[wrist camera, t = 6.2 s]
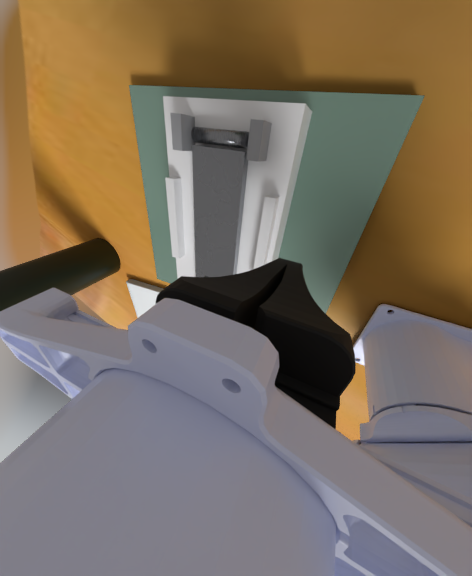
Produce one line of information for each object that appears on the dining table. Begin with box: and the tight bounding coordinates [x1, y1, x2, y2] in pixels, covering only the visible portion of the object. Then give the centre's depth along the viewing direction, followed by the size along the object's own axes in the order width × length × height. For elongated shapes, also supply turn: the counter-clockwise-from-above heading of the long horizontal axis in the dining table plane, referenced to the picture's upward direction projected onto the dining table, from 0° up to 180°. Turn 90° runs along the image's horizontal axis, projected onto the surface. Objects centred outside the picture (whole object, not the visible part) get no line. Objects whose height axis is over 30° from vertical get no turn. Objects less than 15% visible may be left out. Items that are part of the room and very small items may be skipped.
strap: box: [191, 127, 249, 277], centre depth 18 cm, size 16×4×1 cm, turn 174°
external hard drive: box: [126, 279, 163, 318], centre depth 36 cm, size 2×8×12 cm
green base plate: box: [129, 85, 424, 314], centre depth 19 cm, size 22×20×6 cm
